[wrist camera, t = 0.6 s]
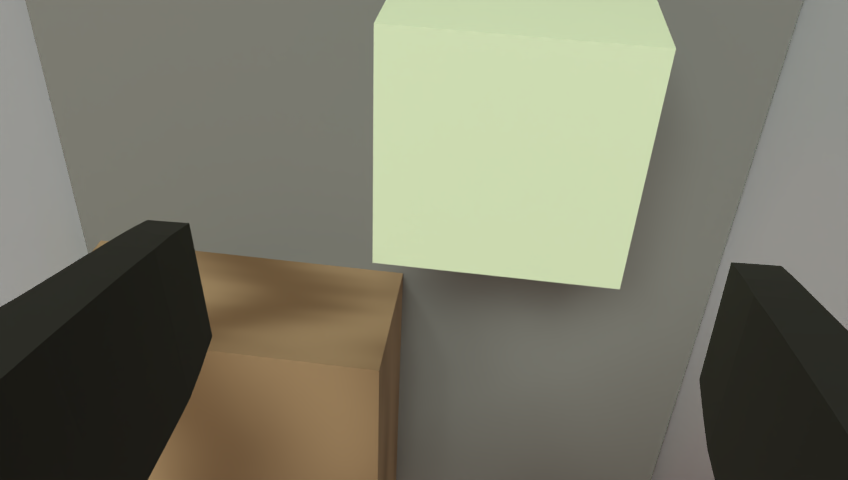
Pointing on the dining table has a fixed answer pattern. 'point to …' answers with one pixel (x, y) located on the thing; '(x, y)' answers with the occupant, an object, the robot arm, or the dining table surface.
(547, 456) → the building mat
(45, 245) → the dining table surface
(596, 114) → the sage cube
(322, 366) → the walnut base block
